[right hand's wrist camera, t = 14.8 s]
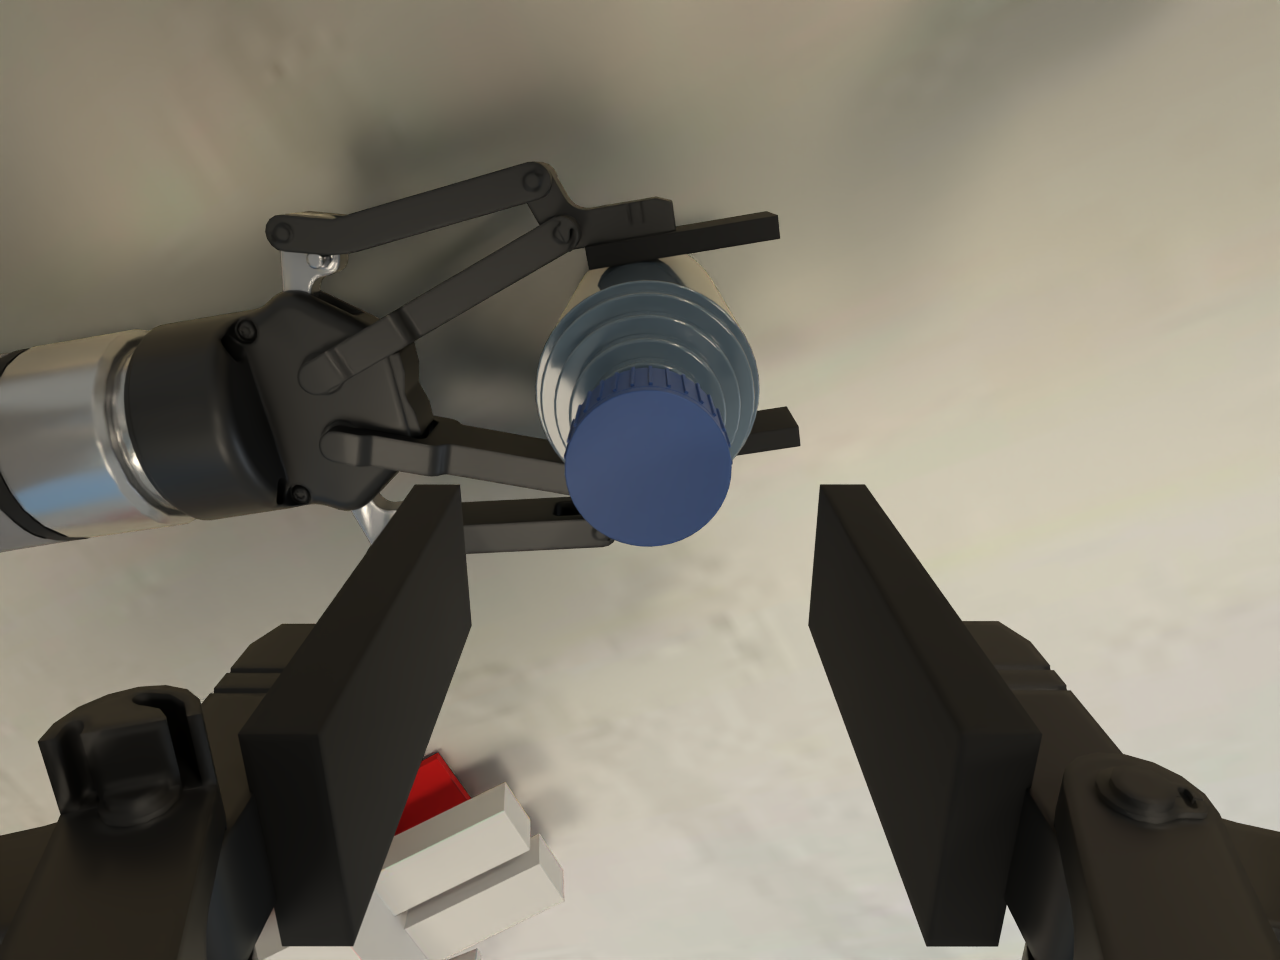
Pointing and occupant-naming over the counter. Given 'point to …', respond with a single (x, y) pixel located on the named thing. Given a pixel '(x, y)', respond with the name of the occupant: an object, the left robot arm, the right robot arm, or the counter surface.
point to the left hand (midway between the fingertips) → (782, 329)
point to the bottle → (647, 343)
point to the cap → (647, 457)
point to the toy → (445, 877)
